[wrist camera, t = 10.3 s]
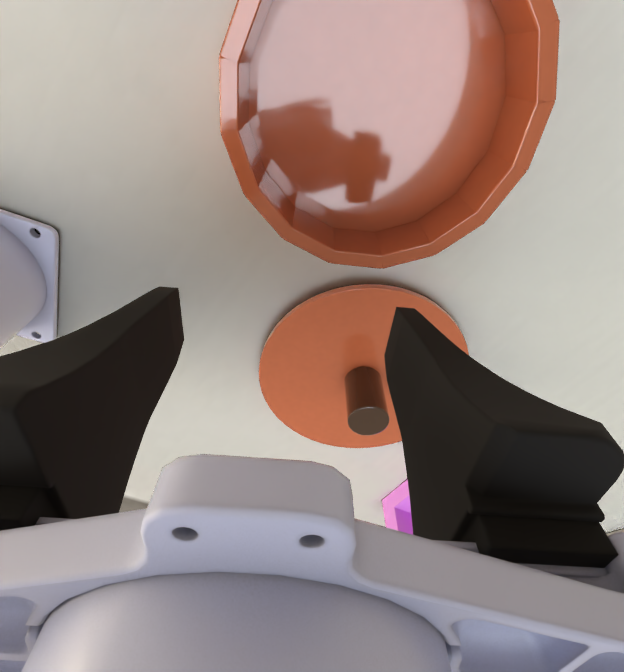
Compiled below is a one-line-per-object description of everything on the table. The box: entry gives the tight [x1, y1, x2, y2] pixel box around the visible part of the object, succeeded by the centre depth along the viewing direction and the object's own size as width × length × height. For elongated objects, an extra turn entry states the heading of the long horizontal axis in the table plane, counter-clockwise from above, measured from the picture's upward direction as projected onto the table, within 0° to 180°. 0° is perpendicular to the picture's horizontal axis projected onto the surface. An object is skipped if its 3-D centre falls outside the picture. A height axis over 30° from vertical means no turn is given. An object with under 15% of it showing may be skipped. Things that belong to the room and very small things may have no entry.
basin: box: [219, 0, 560, 268], centre depth 16 cm, size 12×12×3 cm
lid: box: [259, 284, 469, 448], centre depth 25 cm, size 13×13×5 cm
